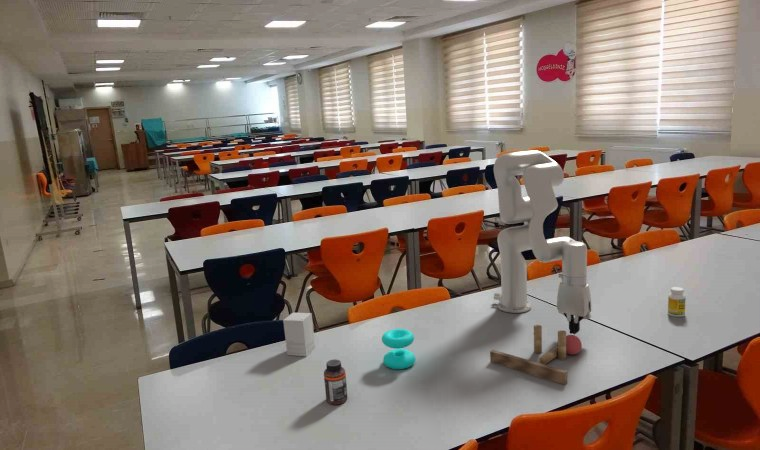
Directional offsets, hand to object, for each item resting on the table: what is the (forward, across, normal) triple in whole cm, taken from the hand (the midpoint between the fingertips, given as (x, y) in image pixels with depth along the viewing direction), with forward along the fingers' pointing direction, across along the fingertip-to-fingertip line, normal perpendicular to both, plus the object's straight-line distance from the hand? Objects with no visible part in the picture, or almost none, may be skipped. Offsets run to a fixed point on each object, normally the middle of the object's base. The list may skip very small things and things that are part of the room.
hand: (574, 332), depth 181 cm
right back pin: (+2, +4, -17) cm, 18 cm away
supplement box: (+2, -67, -62) cm, 91 cm away
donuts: (+2, -34, -49) cm, 60 cm away
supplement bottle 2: (+2, +20, +38) cm, 43 cm away
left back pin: (+2, -4, -17) cm, 18 cm away
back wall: (+2, 0, -31) cm, 31 cm away
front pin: (0, +2, -15) cm, 15 cm away
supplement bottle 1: (+2, -33, -76) cm, 83 cm away
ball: (-2, +5, -12) cm, 14 cm away
